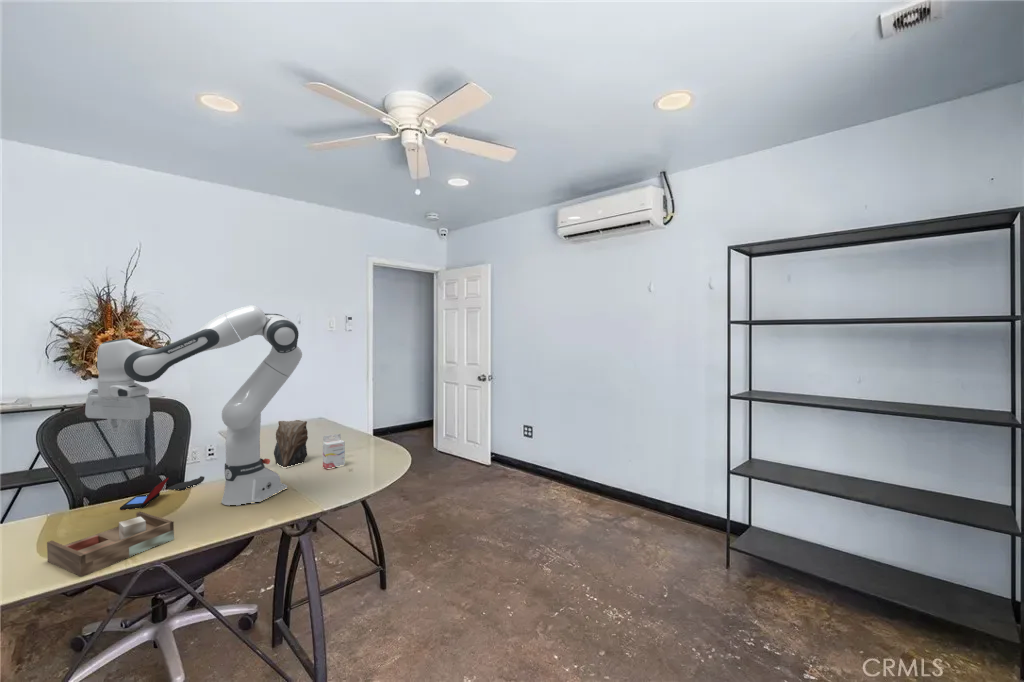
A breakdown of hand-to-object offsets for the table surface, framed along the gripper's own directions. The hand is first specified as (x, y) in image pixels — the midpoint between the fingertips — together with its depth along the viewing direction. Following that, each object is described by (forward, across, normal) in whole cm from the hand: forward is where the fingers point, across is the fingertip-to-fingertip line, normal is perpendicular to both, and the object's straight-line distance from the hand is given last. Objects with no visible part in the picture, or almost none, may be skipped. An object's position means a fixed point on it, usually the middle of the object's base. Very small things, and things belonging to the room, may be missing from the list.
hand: (117, 432), depth 143 cm
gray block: (+28, +17, -11) cm, 35 cm away
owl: (+31, +13, +67) cm, 75 cm away
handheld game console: (+32, -11, +19) cm, 38 cm away
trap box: (+31, +13, -13) cm, 36 cm away
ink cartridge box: (+31, +36, +67) cm, 82 cm away
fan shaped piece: (+32, -10, +37) cm, 50 cm away
